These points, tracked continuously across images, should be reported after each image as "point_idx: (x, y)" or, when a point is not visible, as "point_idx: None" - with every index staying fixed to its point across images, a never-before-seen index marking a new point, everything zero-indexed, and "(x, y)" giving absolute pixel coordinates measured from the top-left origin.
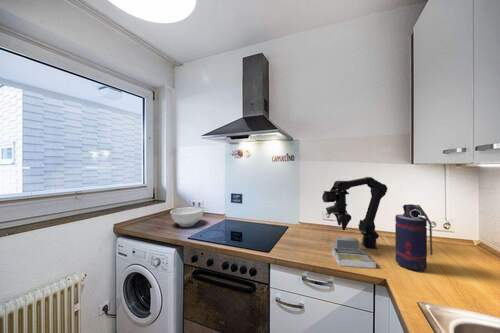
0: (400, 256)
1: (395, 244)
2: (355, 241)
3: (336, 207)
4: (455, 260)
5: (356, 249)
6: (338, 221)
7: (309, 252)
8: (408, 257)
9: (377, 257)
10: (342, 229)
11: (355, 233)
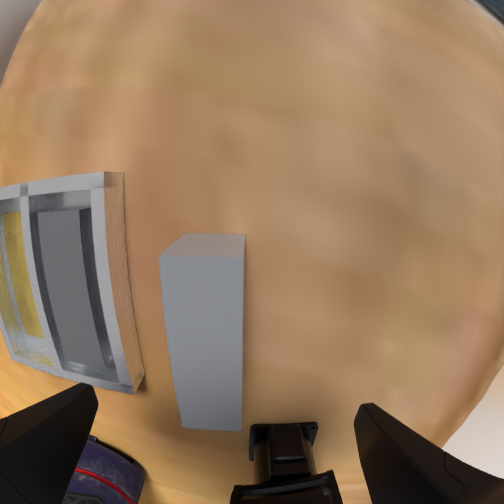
0: None
1: (83, 495)
2: (179, 405)
3: None
4: None
5: (114, 358)
6: (387, 456)
7: (119, 27)
8: None
9: (134, 416)
10: (84, 385)
11: (457, 408)
